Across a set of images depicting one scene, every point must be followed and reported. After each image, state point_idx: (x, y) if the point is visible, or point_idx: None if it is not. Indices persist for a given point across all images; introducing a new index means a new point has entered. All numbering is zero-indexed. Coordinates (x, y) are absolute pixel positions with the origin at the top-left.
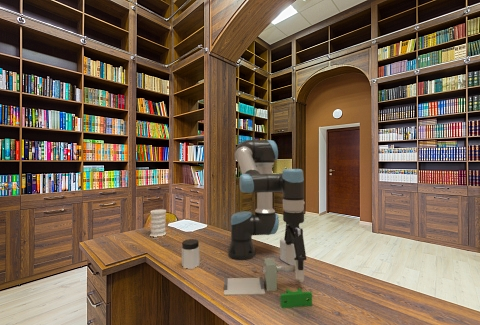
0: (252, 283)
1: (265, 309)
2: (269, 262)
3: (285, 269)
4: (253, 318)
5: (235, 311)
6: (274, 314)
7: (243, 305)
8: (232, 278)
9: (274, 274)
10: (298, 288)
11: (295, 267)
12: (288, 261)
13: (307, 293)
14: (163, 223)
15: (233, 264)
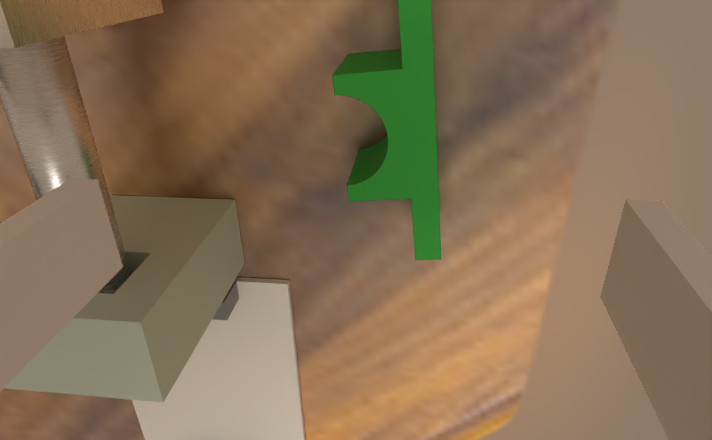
0: None
1: (442, 304)
2: (88, 367)
3: None
4: (512, 370)
5: (443, 432)
6: (496, 267)
7: (396, 397)
8: (141, 421)
9: (186, 283)
10: (339, 91)
11: (659, 412)
12: (113, 246)
13: (430, 26)
14: None
15: None
